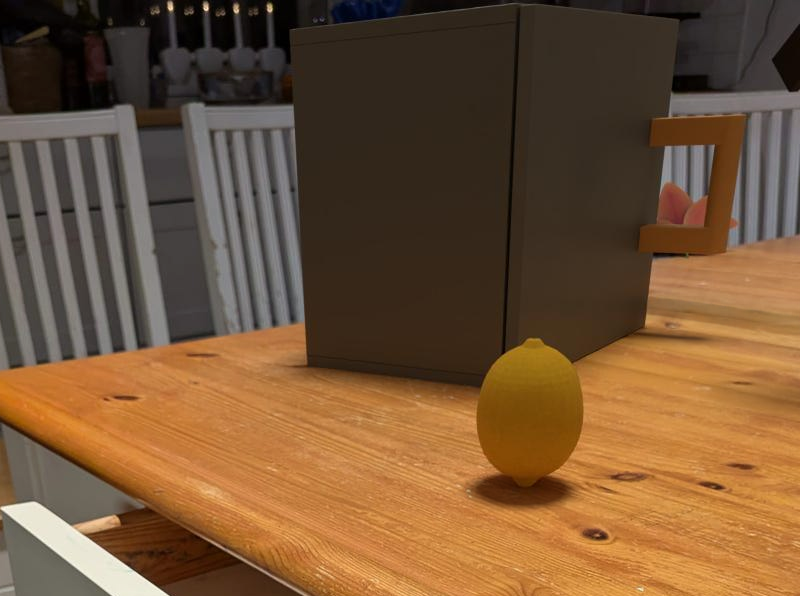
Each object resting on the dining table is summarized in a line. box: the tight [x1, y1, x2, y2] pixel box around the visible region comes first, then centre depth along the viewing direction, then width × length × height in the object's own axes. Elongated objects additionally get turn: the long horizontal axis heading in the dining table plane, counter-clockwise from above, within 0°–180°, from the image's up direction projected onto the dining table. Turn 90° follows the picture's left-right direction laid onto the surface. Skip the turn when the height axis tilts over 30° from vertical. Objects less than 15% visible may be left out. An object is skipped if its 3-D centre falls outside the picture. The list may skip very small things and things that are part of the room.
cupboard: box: [289, 2, 529, 389], centre depth 79 cm, size 18×26×24 cm
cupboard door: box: [505, 3, 747, 364], centre depth 71 cm, size 8×26×24 cm, turn 143°
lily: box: [653, 181, 739, 259], centre depth 113 cm, size 12×12×10 cm
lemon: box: [475, 338, 585, 488], centre depth 51 cm, size 6×6×8 cm
